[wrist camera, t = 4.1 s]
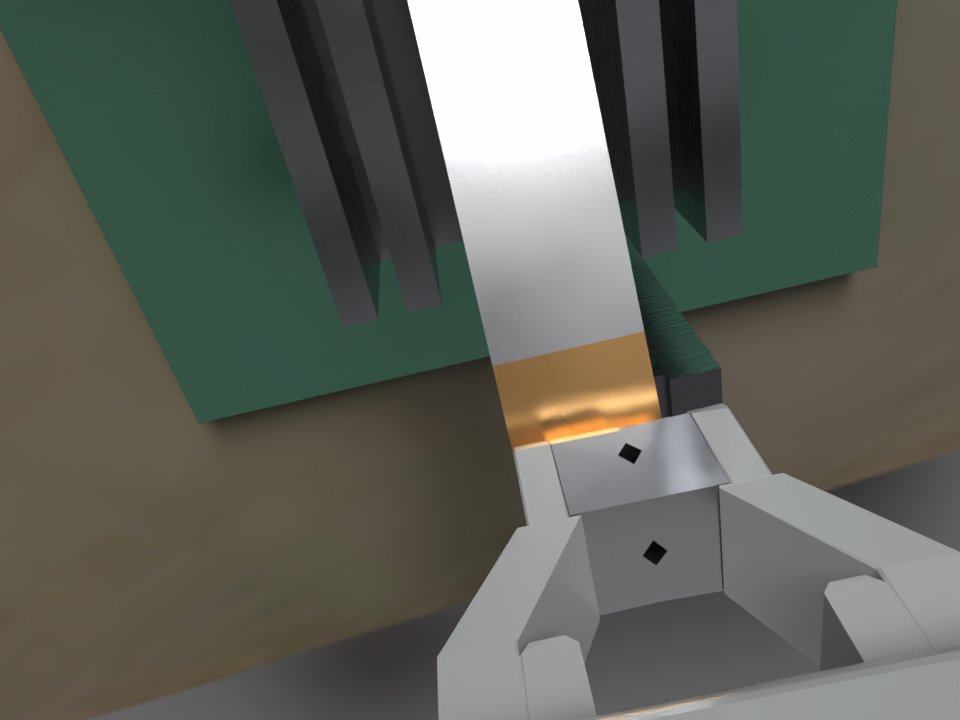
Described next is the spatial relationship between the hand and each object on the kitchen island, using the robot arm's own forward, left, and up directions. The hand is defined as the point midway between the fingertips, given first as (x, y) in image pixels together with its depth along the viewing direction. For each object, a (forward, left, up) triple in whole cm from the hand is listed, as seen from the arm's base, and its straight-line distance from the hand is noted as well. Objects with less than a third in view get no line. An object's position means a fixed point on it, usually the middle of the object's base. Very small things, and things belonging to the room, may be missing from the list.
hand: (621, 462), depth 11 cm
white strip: (0, +5, -3) cm, 6 cm away
